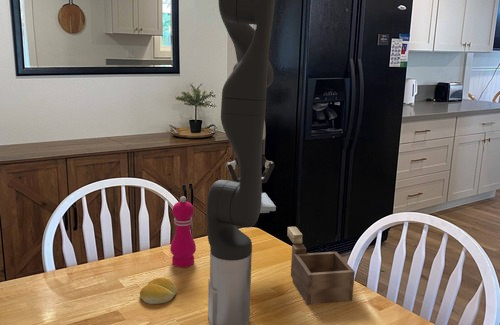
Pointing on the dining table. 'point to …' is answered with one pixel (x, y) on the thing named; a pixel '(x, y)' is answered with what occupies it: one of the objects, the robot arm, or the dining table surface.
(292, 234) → the wooden key
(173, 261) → the pepper mill
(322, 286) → the toolbox
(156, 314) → the dining table surface
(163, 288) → the bread roll
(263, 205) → the lid
